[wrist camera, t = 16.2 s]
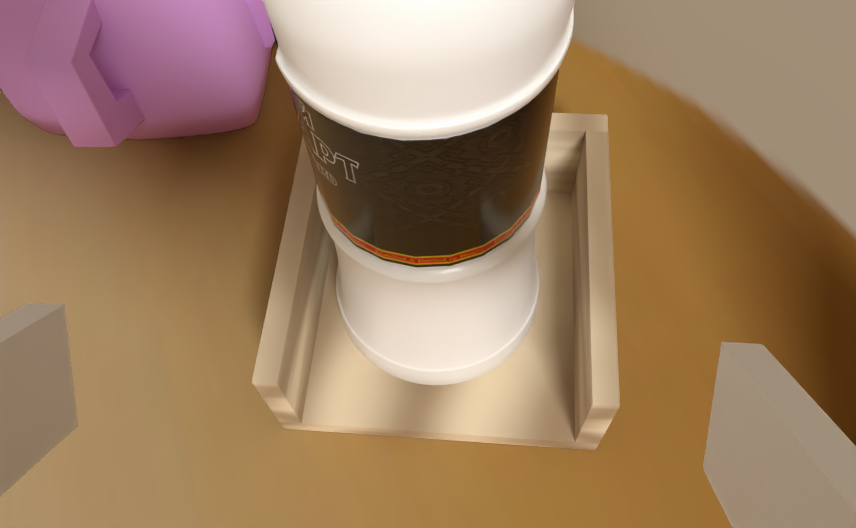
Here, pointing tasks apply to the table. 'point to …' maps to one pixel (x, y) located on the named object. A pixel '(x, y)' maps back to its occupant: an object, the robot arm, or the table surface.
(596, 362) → the bottle rest
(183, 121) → the teakettle
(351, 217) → the vodka
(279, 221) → the table surface
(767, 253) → the table surface
